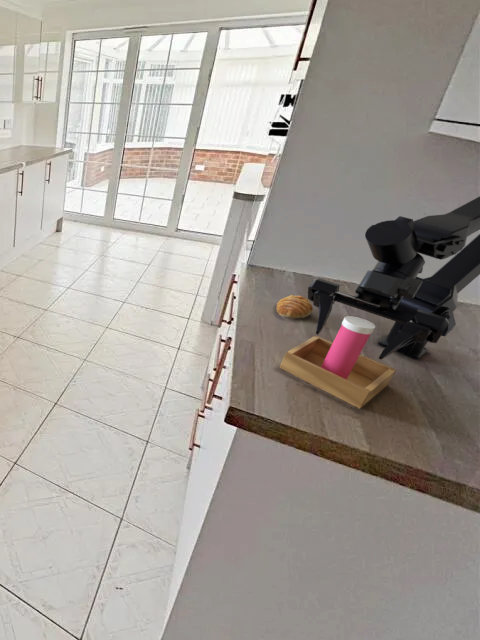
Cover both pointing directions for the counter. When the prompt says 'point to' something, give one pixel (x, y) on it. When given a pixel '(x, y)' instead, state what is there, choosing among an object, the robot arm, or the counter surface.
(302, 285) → the counter surface
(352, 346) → the candy tube
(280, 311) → the pastry
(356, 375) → the wooden tray
